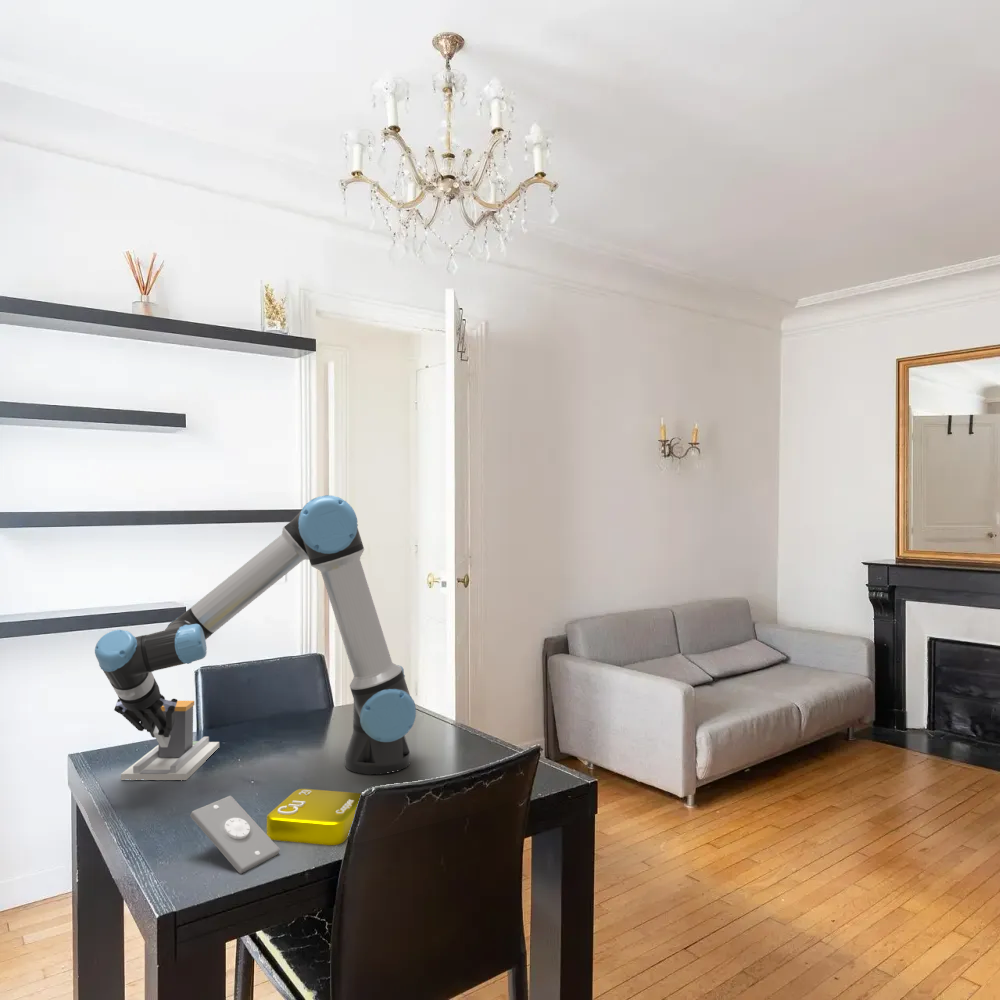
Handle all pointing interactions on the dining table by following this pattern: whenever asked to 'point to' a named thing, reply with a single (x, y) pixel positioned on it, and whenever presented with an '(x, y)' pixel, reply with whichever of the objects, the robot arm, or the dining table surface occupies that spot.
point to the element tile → (313, 817)
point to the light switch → (235, 834)
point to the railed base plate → (171, 763)
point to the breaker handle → (180, 731)
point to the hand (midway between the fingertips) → (165, 741)
